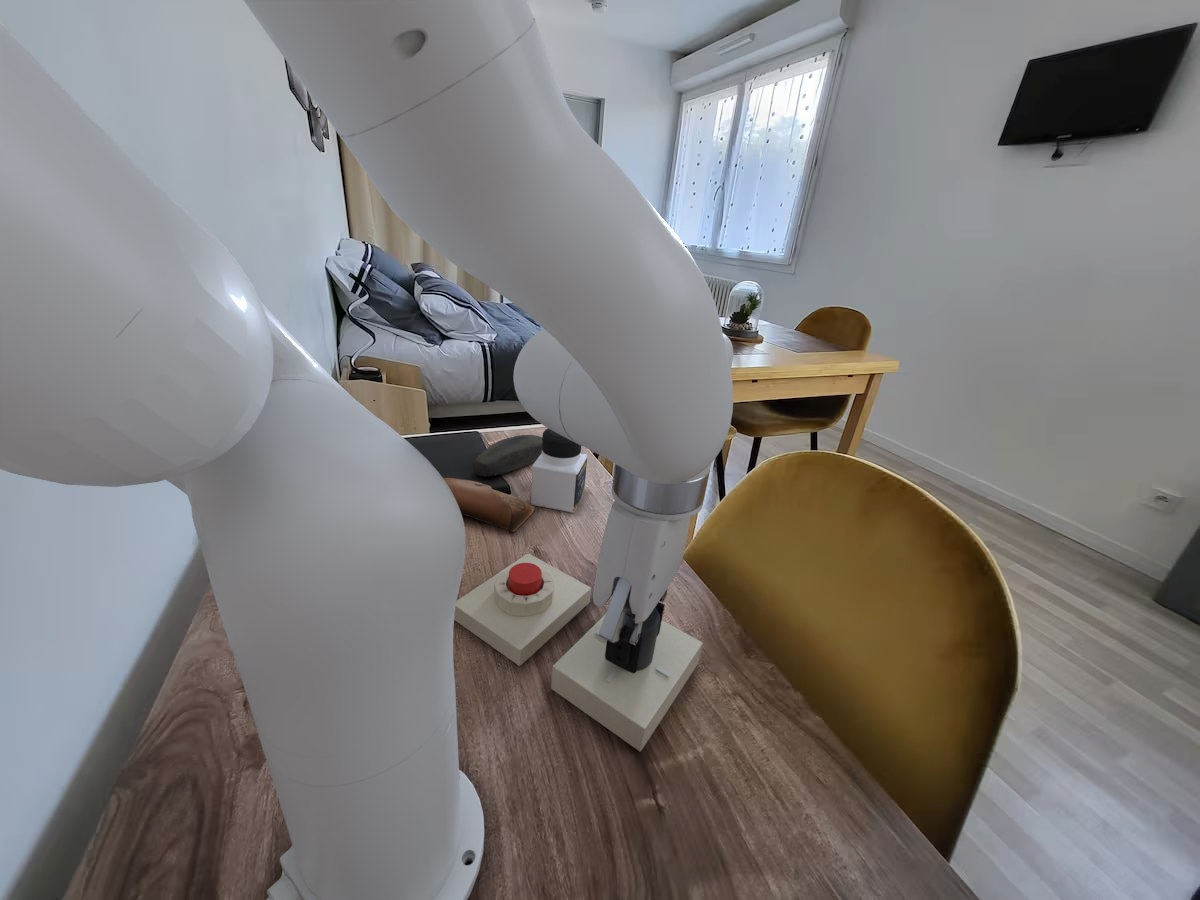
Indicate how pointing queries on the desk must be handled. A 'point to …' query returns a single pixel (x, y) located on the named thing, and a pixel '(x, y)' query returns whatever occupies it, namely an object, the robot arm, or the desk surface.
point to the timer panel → (626, 682)
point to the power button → (525, 579)
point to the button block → (521, 610)
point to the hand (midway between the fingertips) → (632, 645)
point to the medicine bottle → (558, 473)
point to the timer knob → (646, 637)
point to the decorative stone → (508, 455)
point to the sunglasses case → (489, 504)
